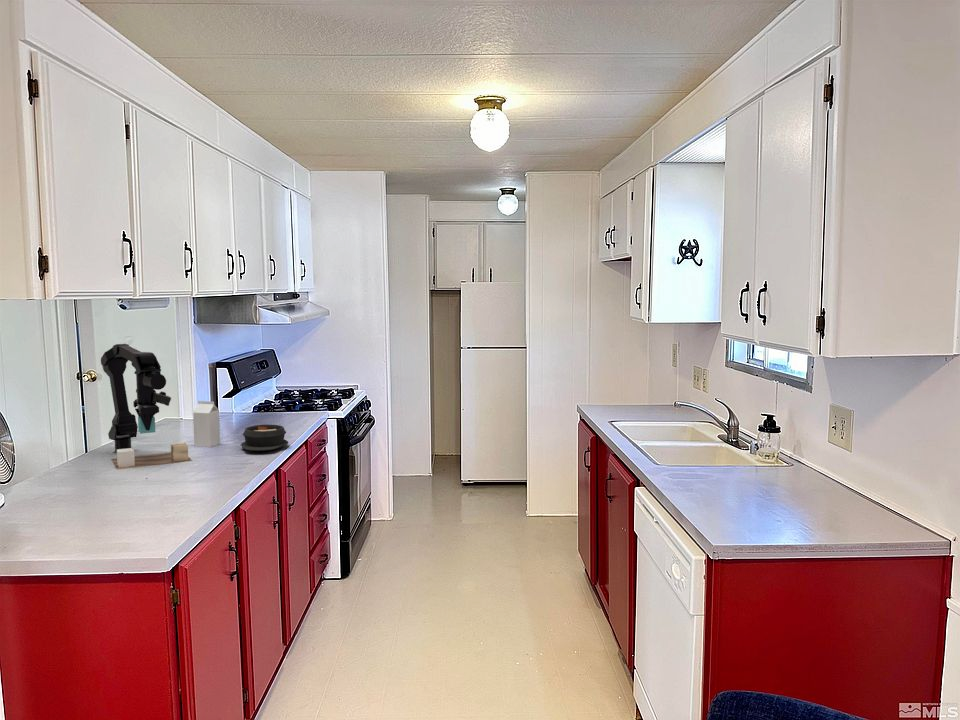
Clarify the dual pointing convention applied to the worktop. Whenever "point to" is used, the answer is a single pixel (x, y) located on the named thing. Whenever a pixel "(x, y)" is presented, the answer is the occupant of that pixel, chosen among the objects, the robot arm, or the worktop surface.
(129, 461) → the off-white block
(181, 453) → the birch block
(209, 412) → the milk carton
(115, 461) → the walnut board
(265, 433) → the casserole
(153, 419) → the teal block
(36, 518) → the worktop surface
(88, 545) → the worktop surface
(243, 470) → the worktop surface
